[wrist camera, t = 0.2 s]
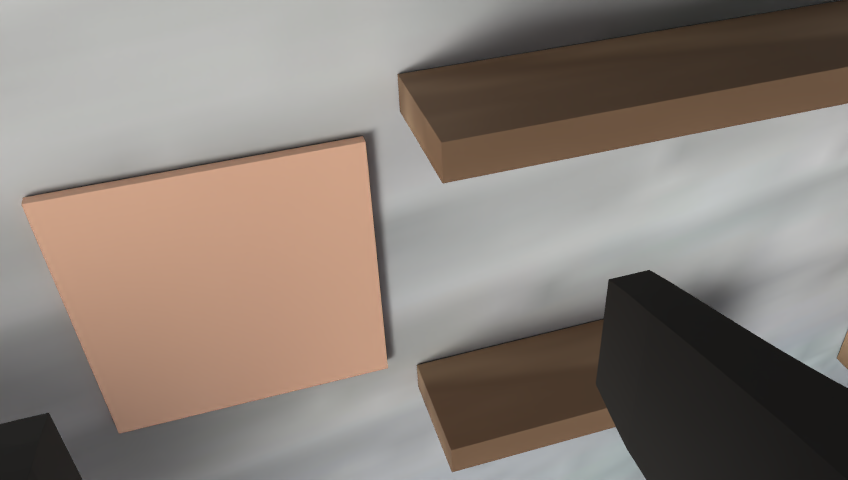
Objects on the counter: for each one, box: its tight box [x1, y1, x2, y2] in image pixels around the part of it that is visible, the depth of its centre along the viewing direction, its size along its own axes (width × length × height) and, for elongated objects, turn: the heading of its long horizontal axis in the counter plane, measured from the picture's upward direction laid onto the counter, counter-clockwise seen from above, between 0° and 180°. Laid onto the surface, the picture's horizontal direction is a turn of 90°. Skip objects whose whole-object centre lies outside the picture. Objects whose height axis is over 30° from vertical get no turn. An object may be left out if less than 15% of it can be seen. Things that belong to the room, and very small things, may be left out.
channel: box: [398, 0, 848, 472], centre depth 24 cm, size 16×18×4 cm
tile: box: [22, 136, 388, 434], centre depth 21 cm, size 8×8×1 cm
